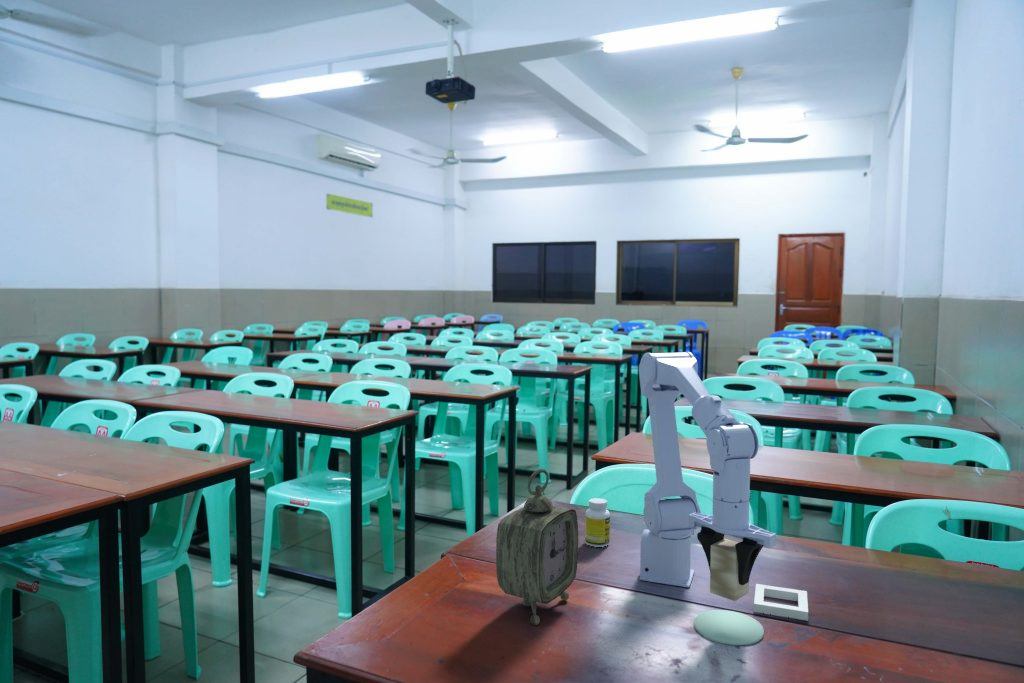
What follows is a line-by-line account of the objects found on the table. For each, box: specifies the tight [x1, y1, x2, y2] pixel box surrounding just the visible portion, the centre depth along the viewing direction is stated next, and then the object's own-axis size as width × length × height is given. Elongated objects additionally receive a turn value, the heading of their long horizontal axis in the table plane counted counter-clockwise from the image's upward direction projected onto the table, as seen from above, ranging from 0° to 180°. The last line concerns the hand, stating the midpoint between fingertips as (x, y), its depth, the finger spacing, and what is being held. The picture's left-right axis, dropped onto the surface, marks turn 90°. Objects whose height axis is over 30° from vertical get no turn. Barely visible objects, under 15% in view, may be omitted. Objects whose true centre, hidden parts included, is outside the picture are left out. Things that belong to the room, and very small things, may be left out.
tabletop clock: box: [495, 468, 579, 626], centre depth 119 cm, size 14×9×25 cm, turn 148°
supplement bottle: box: [584, 497, 611, 548], centre depth 151 cm, size 5×5×10 cm
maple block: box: [709, 538, 750, 602], centre depth 112 cm, size 4×4×8 cm
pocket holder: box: [753, 583, 809, 622], centre depth 121 cm, size 9×9×2 cm
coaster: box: [693, 609, 765, 646], centre depth 113 cm, size 11×11×1 cm
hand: (729, 578), depth 112 cm, fingers closed on maple block, 4 cm apart
